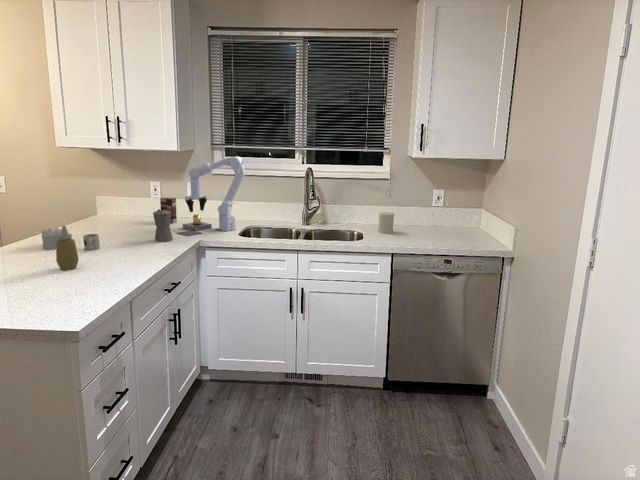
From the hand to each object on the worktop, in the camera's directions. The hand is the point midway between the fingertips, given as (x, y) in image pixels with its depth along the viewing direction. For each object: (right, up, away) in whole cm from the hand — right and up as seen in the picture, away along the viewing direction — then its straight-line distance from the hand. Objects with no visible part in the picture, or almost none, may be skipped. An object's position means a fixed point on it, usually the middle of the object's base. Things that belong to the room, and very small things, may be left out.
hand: (196, 211), depth 268 cm
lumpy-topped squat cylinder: (-56, -21, -48) cm, 77 cm away
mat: (-1, -14, -12) cm, 18 cm away
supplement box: (-22, -7, +16) cm, 28 cm away
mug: (-36, -22, -52) cm, 67 cm away
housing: (0, -10, +2) cm, 10 cm away
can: (+114, -13, +6) cm, 115 cm away
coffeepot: (-10, -17, -29) cm, 35 cm away
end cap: (0, -10, +2) cm, 10 cm away
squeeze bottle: (-30, -29, -82) cm, 93 cm away
